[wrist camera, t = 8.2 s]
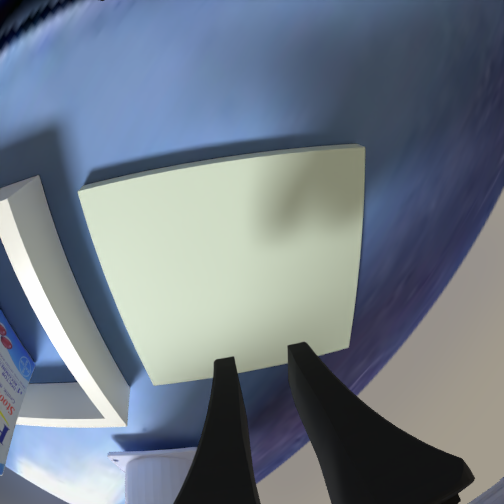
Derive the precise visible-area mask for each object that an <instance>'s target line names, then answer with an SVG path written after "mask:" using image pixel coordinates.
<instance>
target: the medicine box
mask: <svg viewBox="0 0 504 504" xmlns="http://www.w3.org/2000/svg"><path fill="white" fill-rule="evenodd" d="M34 368H35V364H34V362H33V359H32V358H31V356H30V355H29V353H28V352H27V351H26V349H25V348H24V346H23V345H22V343H21V342H20V340H19V338H18V337H17V335H16V334H15V332H14V331H13V329H12V327H11V326H10V324H9V322H8V321H7V319H6V318H5V316H4V314H3V312H2V311H1V309H0V476H2V475H3V473H4V468H5V464H6V459H7V455H8V451H9V447H10V443H11V439H12V436H13V432H14V428H15V425H16V422H17V418H18V415H19V411H20V408H21V405H22V402H23V399H24V396H25V393H26V390H27V387H28V384H29V382H30V379H31V376H32V374H33V371H34Z"/></svg>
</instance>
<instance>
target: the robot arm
mask: <svg viewBox="0 0 504 504" xmlns="http://www.w3.org/2000/svg"><path fill="white" fill-rule="evenodd" d="M287 348H288V381H289V385H290V388H291V392H292V395H293V399H294V402H295V406H296V408H297V410H298V413H299V415H300V418H301V420H302V422H303V425H304V427H305V429H306V432H307V434H308V436H309V439H310V441H311V443H312V446H313V448H314V450H315V453H316V455H317V458H318V460H319V463H320V466H321V469H322V473H323V476H324V479H325V483H326V486H327V490H328V493H329V496H330V500H331V503H332V504H458V503H459V502H460V498H459V495H458V493H459V492H461V491H462V490H463V489H465V488H466V487H467V486H469V485H470V484H471V483H472V482H473V481H474V479H475V477H474V476H473V474H472V472H471V470H470V469H469V467H468V466H467V464H466V463H465V462H464V460H463V459H462V458H459V457H457V456H454V455H451V454H449V453H446V452H444V451H442V450H439V449H437V448H435V447H433V446H430V445H428V444H426V443H424V442H422V441H420V440H419V439H417V438H415V437H413V436H412V435H410V434H408V433H406V432H405V431H403V430H401V429H399V428H398V427H396V426H395V425H393V424H392V423H390V422H389V421H387V420H386V419H384V418H383V417H382V416H380V415H379V414H378V413H376V412H375V411H374V410H372V409H371V408H370V407H368V406H367V405H366V404H365V403H364V402H363V401H361V400H360V399H359V398H358V397H357V396H356V395H355V394H354V393H352V392H351V391H350V390H349V389H348V388H347V387H346V386H345V385H344V384H343V383H342V382H341V381H340V380H339V379H338V378H337V377H336V376H335V375H334V374H333V373H332V372H331V371H330V370H329V369H328V367H327V366H326V365H325V364H324V363H323V362H322V361H321V359H320V358H319V357H318V356H317V355H316V354H315V352H314V351H313V350H312V348H311V347H310V346H309V345H308V343H306V342H300V343H296V344H291V345H287ZM108 458H109V459H110V460H111V461H112V462H113V463H114V464H115V465H117V466H118V467H119V468H120V469H121V470H122V471H123V472H124V473H125V504H261V503H260V499H259V495H258V491H257V487H256V482H255V478H254V472H253V466H252V457H251V449H250V441H249V432H248V423H247V415H246V411H245V406H244V401H243V397H242V392H241V387H240V382H239V378H238V373H237V368H236V363H235V358H234V356H232V357H227V358H221V359H216V360H215V361H214V372H213V383H212V390H211V396H210V401H209V406H208V411H207V416H206V420H205V423H204V427H203V431H202V434H201V438H200V441H199V444H198V447H188V448H179V449H167V450H153V451H132V452H109V453H108ZM468 504H504V477H503V478H502V479H500V481H499V482H497V483H496V484H495V485H494V486H492V487H491V488H490V489H488V490H487V491H486V492H484V493H483V494H481V495H480V496H478V497H477V498H475V499H474V500H473V501H471V502H469V503H468Z"/></svg>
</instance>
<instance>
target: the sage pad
mask: <svg viewBox="0 0 504 504" xmlns="http://www.w3.org/2000/svg"><path fill="white" fill-rule="evenodd" d="M364 183H365V147H363V146H361V145H359V144H342V145H328V146H315V147H304V148H294V149H284V150H275V151H266V152H258V153H250V154H243V155H236V156H229V157H222V158H215V159H209V160H203V161H197V162H191V163H185V164H180V165H174V166H169V167H164V168H159V169H154V170H149V171H144V172H139V173H134V174H130V175H125V176H121V177H116V178H112V179H108V180H103V181H99V182H95V183H91V184H87V185H83V186H82V187H81V188H80V190H79V191H78V195H79V198H80V202H81V205H82V209H83V212H84V215H85V219H86V222H87V225H88V228H89V231H90V234H91V238H92V241H93V244H94V246H95V249H96V252H97V255H98V258H99V261H100V264H101V266H102V269H103V272H104V275H105V277H106V280H107V282H108V285H109V288H110V290H111V293H112V295H113V298H114V300H115V303H116V305H117V308H118V310H119V312H120V315H121V317H122V319H123V322H124V324H125V326H126V329H127V331H128V333H129V335H130V338H131V340H132V342H133V344H134V346H135V348H136V351H137V353H138V355H139V357H140V359H141V361H142V363H143V365H144V367H145V369H146V371H147V373H148V375H149V377H150V379H151V381H152V383H153V385H154V386H155V385H164V384H172V383H180V382H187V381H194V380H201V379H207V378H213V372H214V361H215V360H216V359H221V358H227V357H232V356H234V358H235V363H236V368H237V373H242V372H247V371H252V370H257V369H262V368H267V367H272V366H277V365H281V364H286V363H288V348H287V345H291V344H296V343H300V342H306V343H308V345H309V346H310V347H311V348H312V350H313V351H314V352H315V354H316V355H317V356H319V355H323V354H327V353H331V352H334V351H338V350H342V349H345V348H349V342H350V336H351V329H352V322H353V315H354V307H355V299H356V291H357V282H358V272H359V262H360V251H361V238H362V224H363V207H364Z"/></svg>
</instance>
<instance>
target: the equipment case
mask: <svg viewBox="0 0 504 504" xmlns="http://www.w3.org/2000/svg"><path fill="white" fill-rule="evenodd" d="M0 238H1V240H2V243H3V245H4V248H5V250H6V252H7V255H8V257H9V260H10V262H11V264H12V266H13V269H14V271H15V273H16V275H17V277H18V280H19V282H20V284H21V286H22V288H23V290H24V292H25V294H26V296H27V298H28V300H29V302H30V304H31V306H32V308H33V310H34V311H35V313H36V315H37V317H38V319H39V321H40V322H41V324H42V326H43V328H44V329H45V331H46V333H47V335H48V336H49V338H50V340H51V341H52V343H53V345H54V346H55V348H56V350H57V351H58V353H59V354H60V356H61V357H62V359H63V361H64V362H65V364H66V365H67V367H68V368H69V370H70V371H71V373H72V374H73V376H74V377H75V379H76V380H77V381H78V382H73V383H45V384H28V387H27V390H26V393H25V396H24V399H23V402H22V405H21V408H20V411H19V415H18V418H17V422H16V424H18V425H30V426H46V427H78V428H93V427H126V426H127V421H128V407H129V394H130V387H129V386H128V384H127V382H126V381H125V379H124V377H123V375H122V374H121V372H120V370H119V368H118V367H117V365H116V363H115V361H114V359H113V357H112V356H111V354H110V352H109V350H108V348H107V346H106V344H105V342H104V340H103V339H102V337H101V335H100V333H99V331H98V329H97V327H96V325H95V322H94V320H93V318H92V316H91V314H90V312H89V310H88V308H87V306H86V303H85V301H84V299H83V297H82V294H81V292H80V290H79V288H78V285H77V283H76V280H75V278H74V276H73V273H72V271H71V268H70V266H69V263H68V261H67V258H66V256H65V253H64V250H63V248H62V245H61V242H60V239H59V237H58V234H57V231H56V228H55V225H54V222H53V219H52V216H51V213H50V210H49V207H48V204H47V200H46V197H45V194H44V190H43V187H42V183H41V179H40V176H39V175H37V176H34V177H31V178H28V179H25V180H22V181H19V182H17V183H14V184H11V185H8V186H5V187H3V188H0Z"/></svg>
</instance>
